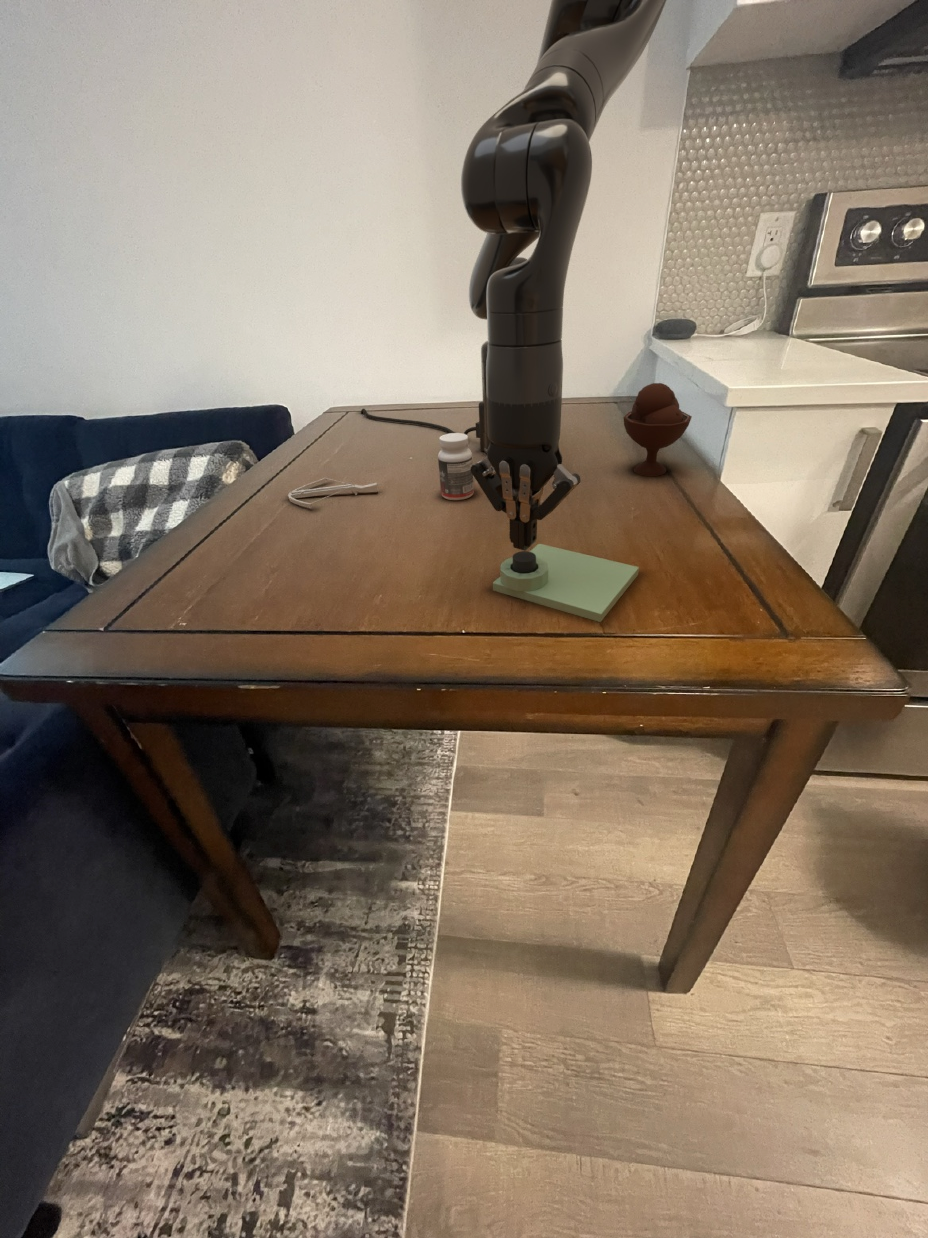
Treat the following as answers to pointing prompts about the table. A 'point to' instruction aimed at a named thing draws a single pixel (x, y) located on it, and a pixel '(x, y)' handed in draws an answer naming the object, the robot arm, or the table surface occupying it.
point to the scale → (568, 582)
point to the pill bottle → (455, 467)
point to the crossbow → (327, 491)
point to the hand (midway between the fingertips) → (522, 546)
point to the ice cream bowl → (655, 424)
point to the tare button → (524, 562)
